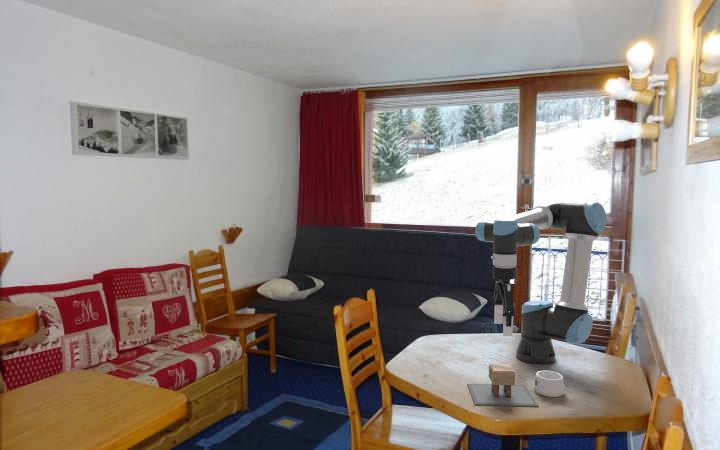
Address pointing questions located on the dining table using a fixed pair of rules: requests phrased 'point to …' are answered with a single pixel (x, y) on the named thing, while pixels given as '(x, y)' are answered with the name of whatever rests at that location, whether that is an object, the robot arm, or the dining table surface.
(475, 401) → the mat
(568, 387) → the dining table surface
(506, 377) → the small wooden stool
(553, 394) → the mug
